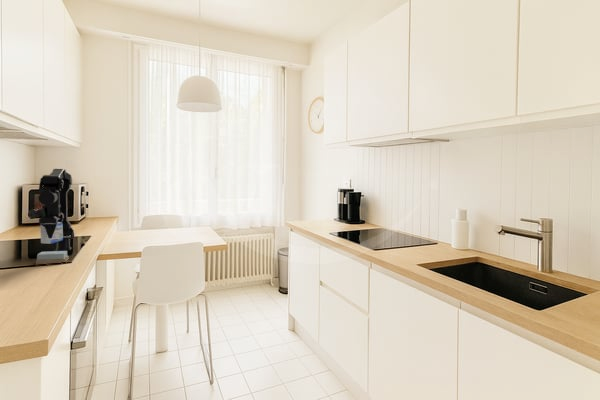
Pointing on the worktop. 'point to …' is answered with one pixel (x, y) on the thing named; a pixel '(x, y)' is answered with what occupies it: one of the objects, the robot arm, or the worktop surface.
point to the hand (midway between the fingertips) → (52, 236)
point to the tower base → (52, 261)
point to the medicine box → (56, 236)
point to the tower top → (52, 255)
